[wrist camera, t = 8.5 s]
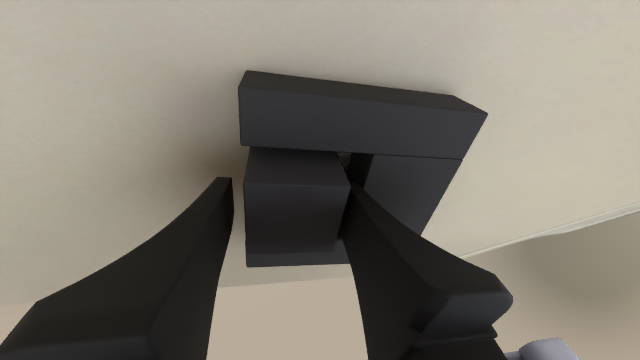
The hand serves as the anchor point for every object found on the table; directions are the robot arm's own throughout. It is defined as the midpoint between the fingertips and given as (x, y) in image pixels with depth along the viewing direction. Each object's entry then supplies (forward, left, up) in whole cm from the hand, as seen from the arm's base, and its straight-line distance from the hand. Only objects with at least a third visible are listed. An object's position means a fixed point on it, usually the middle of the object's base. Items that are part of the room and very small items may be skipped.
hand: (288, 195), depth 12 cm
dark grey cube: (0, 0, -2) cm, 2 cm away
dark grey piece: (0, -3, -2) cm, 3 cm away
